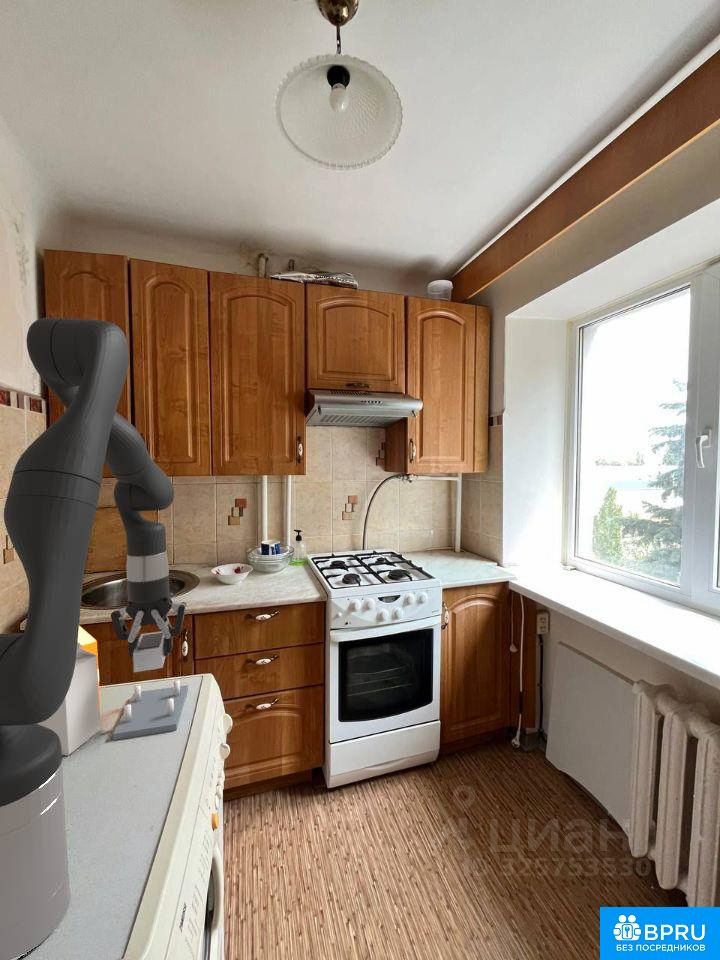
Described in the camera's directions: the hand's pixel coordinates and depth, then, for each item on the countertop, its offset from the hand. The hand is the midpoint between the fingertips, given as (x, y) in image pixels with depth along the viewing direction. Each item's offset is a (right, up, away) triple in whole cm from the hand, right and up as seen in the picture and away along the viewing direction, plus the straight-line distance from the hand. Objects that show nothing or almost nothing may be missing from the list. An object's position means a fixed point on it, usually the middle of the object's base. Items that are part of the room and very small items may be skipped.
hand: (151, 655), depth 85 cm
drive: (0, -1, 0) cm, 1 cm away
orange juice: (-18, -12, +2) cm, 22 cm away
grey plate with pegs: (0, -12, +1) cm, 12 cm away
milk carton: (-12, -13, -7) cm, 19 cm away
